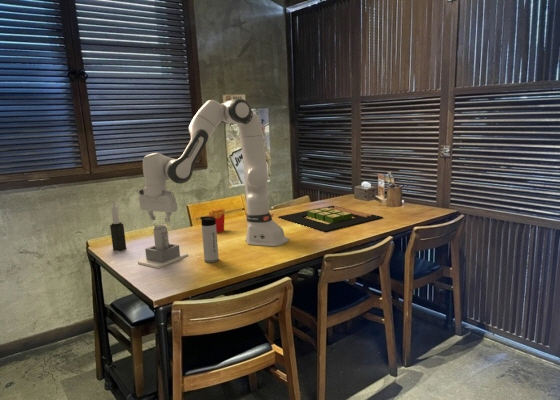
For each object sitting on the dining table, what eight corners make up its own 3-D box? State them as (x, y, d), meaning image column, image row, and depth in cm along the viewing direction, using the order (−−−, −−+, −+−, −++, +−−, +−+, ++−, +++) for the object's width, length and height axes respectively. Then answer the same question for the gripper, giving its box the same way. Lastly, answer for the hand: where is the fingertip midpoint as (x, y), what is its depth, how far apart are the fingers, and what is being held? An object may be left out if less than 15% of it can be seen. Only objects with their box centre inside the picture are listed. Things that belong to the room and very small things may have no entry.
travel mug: (204, 258, 181) (200, 215, 178) (219, 257, 182) (215, 214, 178) (203, 263, 175) (199, 219, 171) (218, 262, 176) (214, 218, 172)
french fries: (211, 233, 222) (209, 210, 220) (209, 231, 226) (207, 209, 223) (227, 230, 226) (225, 208, 224) (224, 229, 230) (223, 207, 228)
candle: (118, 251, 198) (112, 201, 193) (112, 250, 200) (105, 200, 195) (127, 248, 202) (121, 199, 197) (120, 247, 204) (114, 198, 200)
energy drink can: (162, 254, 186) (159, 223, 183) (173, 256, 184) (169, 224, 181) (153, 259, 181) (150, 226, 178) (164, 260, 178) (160, 227, 176)
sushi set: (383, 219, 239) (383, 212, 238) (325, 233, 215) (325, 225, 214) (332, 207, 276) (332, 201, 275) (278, 219, 251) (278, 212, 250)
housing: (188, 255, 187) (187, 243, 185) (158, 268, 172) (156, 255, 170) (168, 251, 193) (167, 239, 192) (137, 263, 178) (136, 250, 177)
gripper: (178, 189, 173) (182, 220, 176) (146, 188, 184) (150, 217, 187) (167, 192, 168) (171, 224, 171) (135, 190, 179) (139, 220, 182)
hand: (160, 220), depth 179 cm, fingers open, 8 cm apart
